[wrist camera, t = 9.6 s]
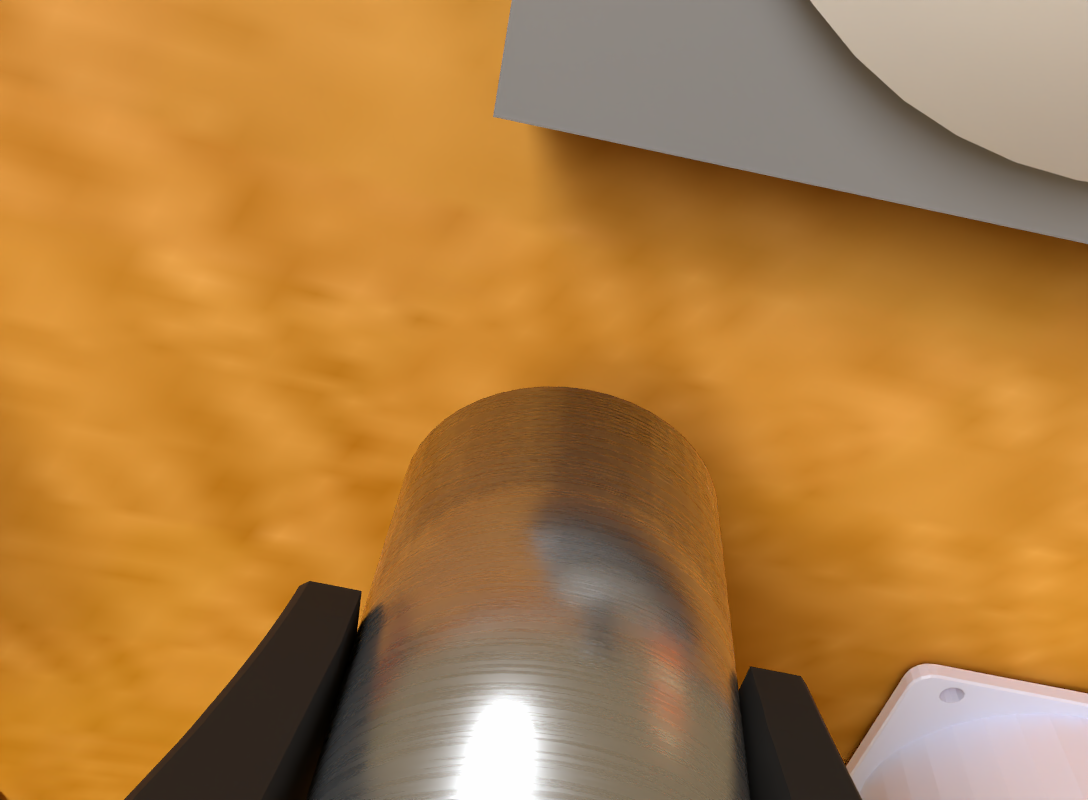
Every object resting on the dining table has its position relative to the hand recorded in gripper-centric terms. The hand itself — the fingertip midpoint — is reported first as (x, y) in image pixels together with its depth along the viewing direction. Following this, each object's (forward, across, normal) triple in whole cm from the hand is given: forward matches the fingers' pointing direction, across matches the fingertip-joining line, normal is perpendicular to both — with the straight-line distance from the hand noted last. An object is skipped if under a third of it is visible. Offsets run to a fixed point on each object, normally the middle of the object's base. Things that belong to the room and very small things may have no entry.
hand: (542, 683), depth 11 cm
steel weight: (+3, 0, 0) cm, 3 cm away
